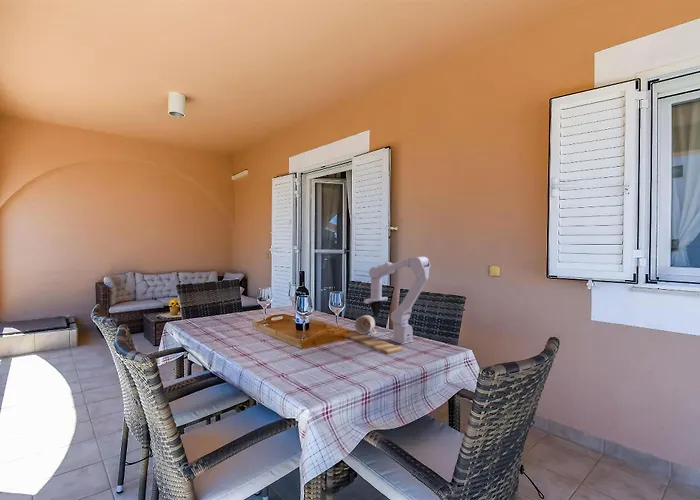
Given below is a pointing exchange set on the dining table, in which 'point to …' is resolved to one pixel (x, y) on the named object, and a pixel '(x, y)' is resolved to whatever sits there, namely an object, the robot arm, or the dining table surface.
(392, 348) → the oak board
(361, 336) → the plank
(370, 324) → the mug
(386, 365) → the dining table surface
